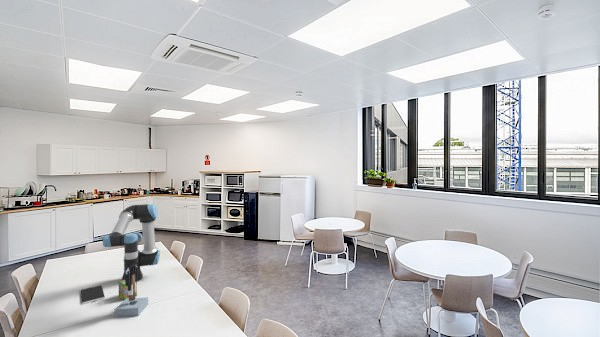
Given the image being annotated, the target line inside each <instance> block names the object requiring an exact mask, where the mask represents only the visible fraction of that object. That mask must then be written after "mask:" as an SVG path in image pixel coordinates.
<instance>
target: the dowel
mask: <svg viewBox="0 0 600 337" xmlns="http://www.w3.org/2000/svg"><path fill="white" fill-rule="evenodd" d="M132 285H133V295H129V301H133V300H135V298H136V297H135V274H132Z"/></svg>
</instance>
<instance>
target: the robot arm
mask: <svg viewBox="0 0 600 337" xmlns="http://www.w3.org/2000/svg"><path fill="white" fill-rule="evenodd" d="M157 218H158V208H157V206H156V205H155V204H154V203H153V204H150V203H148V204H146V203H145V204H134V205H133V204H132V205H130V206H127V207H126V208H125V209H123V210H122V211H121V212H120V214H119V215H118V220H117V222H116V223H115V225H114V227H113V229H112V231H111V233H110V234H109V235H105V236H104V237H103V239H102V246H103V247H104V248H113V247H114V248H115V247H124V252H123V255H124V256H123V274H122V276H121V281H122V280H125V285H126V286H128V295H133V285H132V274H135V292H136V282H137V283H138V281H141V280H142V279H143V277H144V273H143V272H142V269H141V267H147V266H155V265H158V264H159V263H160V262H159V261H160V258H161V257H160V255H161V250H159V249H158V247H157V246H156V235H155V221H156V219H157ZM133 220H139V222H140V224H141V226H142V227H141V228H142V234H141V233H140V232H134V233H133V232H132V233H127V234H125V233H126V230H127V228H128V226H130V225H129V224H130V223H131V222H132V221H133ZM142 241H143V249H142V251H141V250H139V249H138V248H139V244H140V243H141V242H142Z"/></svg>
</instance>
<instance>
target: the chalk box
mask: <svg viewBox="0 0 600 337" xmlns="http://www.w3.org/2000/svg"><path fill="white" fill-rule="evenodd" d="M137 286H138V281H137V282H136V292H135V298H137V296H138V292H137V291H138V289H137V288H138V287H137ZM118 298H120V299H121V300H122V302H123V301H124V300H125V299H128V298H129V295H128V286H126V285H125V280H122V279H121V280H119V281H118Z"/></svg>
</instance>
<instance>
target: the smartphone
mask: <svg viewBox="0 0 600 337" xmlns="http://www.w3.org/2000/svg"><path fill="white" fill-rule="evenodd" d="M105 299H106V296H105V294H104V290H103V286H102V284H101V285H96V286H91V287H87V288H82V289H80V300H81V301H80V302H81V305H86V304H90V303H93V302H98V301H101V300H105Z"/></svg>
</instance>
